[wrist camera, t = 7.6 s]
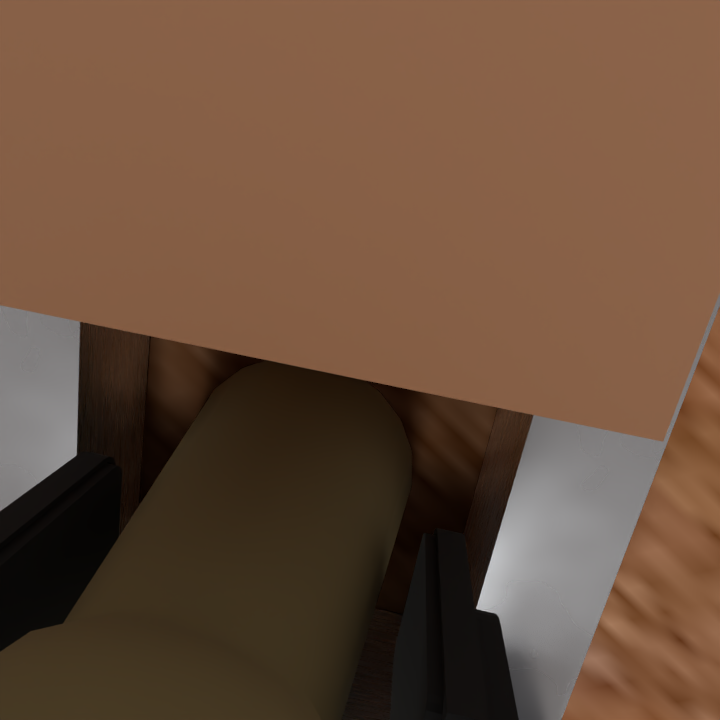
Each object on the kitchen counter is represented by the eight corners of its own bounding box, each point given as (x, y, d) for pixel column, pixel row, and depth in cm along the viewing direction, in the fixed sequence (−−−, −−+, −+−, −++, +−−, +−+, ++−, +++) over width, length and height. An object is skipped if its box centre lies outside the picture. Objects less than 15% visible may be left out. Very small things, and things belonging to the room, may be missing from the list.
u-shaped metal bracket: (53, 603, 17) (-141, 814, 11) (60, 20, 12) (-272, -150, 6) (504, 709, 16) (550, 995, 10) (699, 132, 11) (991, 58, 5)
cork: (239, 315, 13) (-416, 716, 3) (455, 422, 14) (575, 1169, 3) (160, 503, 15) (-424, 1174, 5) (352, 595, 15) (205, 1444, 5)
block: (169, 228, 13) (-206, 262, 5) (190, -69, 11) (-334, -692, 3) (512, 294, 12) (662, 441, 5) (591, -3, 11) (1039, -546, 3)
